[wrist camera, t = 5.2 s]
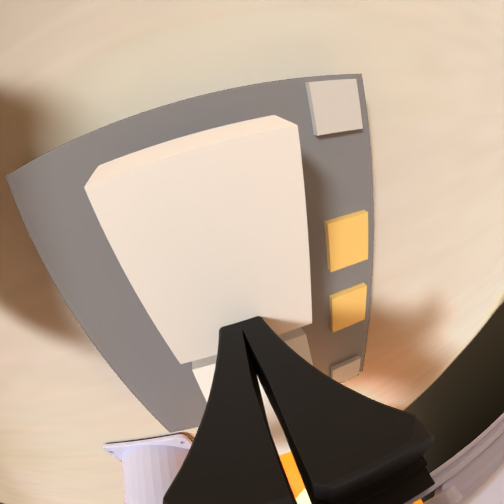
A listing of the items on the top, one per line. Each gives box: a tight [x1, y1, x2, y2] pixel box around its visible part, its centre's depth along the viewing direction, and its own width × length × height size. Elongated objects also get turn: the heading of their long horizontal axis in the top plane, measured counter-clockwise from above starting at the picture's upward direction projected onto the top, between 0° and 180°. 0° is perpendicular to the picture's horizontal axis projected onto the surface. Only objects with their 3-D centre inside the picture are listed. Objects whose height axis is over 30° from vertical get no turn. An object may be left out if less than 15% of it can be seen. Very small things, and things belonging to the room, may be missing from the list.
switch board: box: [5, 74, 373, 432], centre depth 13 cm, size 18×14×3 cm
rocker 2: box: [192, 327, 313, 455], centre depth 13 cm, size 7×5×2 cm
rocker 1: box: [84, 115, 312, 364], centre depth 9 cm, size 7×5×2 cm
